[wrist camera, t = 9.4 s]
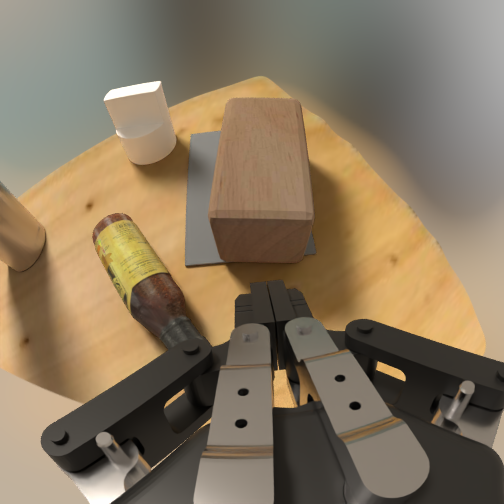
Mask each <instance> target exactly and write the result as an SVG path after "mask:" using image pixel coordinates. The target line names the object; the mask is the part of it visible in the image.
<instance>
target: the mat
mask: <svg viewBox="0 0 504 504" xmlns="http://www.w3.org/2000/svg"><path fill="white" fill-rule="evenodd" d="M220 134H221V131H214V132H206V133H198V134H191V139H190V152H189V167H188V184H187V205H186V237H185V266H194V265H206V264H216V263H227V261H224V260H221V259H220V256H219V254H218V250H217V247H216V243H215V240H214V236H213V233H212V229H211V226H210V222H209V219H208V210H209V203H210V196H211V189H212V182H213V176H214V170H215V163H216V157H217V151H218V145H219V140H220ZM311 254H316V249H315V244H314V239H313V235H312V230H311V233H310V236H309V240H308V243H307V246H306V250H305V253H304V255H311Z"/></svg>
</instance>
